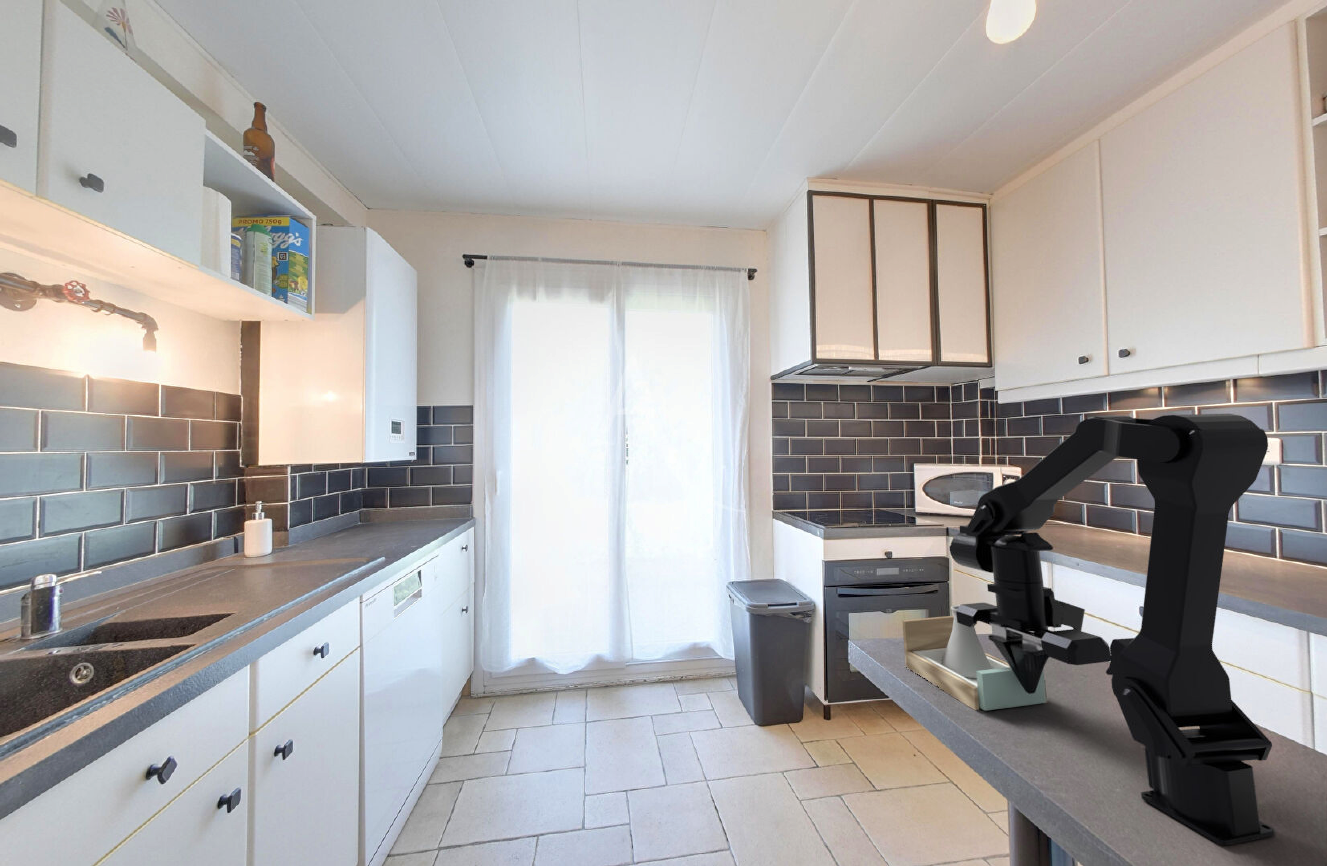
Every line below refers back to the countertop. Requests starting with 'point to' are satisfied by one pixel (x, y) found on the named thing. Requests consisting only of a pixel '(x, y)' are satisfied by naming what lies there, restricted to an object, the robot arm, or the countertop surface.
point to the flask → (964, 651)
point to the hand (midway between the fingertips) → (1030, 692)
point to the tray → (993, 683)
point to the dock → (934, 637)
